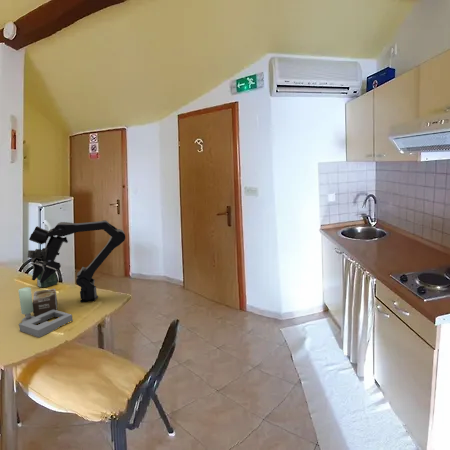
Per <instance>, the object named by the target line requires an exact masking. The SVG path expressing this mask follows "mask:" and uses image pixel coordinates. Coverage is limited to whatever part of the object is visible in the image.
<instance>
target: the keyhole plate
mask: <svg viewBox="0 0 450 450" xmlns="http://www.w3.org/2000/svg"><path fill="white" fill-rule="evenodd" d="M52 317H53V318H56V317H59V318H56V319H53V318H52ZM50 318H51V319H53V320H51V319H50ZM48 319H49V320H51V321H48ZM73 320H74V319H73V315H72V314H71V313H67V312H64V311H60V310H58V309H57V310H54V309H53V310H50V311H48V312H46V313H43V314H41V315H39V316H36V317H34V318H32V319H29V320H27V321H25V322H22V321H21V322H20V323H19V324H18V327H19V332H23V333H25V334H28V335H31V336H34V337H36V338H41V337H44V336H45V335H47V334H49V333H52V332H54V331H55V329H56V330H57V328H58V327H60V326H62V325H64V324H66V323H68V322H70V321H72V322H73ZM38 323H40V324H38ZM70 323H71V322H70ZM36 324H38V325H36ZM68 324H69V323H68ZM66 325H67V324H66ZM64 326H65V325H64ZM62 327H63V326H62ZM60 328H61V327H60ZM58 329H59V328H58ZM53 330H54V331H53Z"/></svg>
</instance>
